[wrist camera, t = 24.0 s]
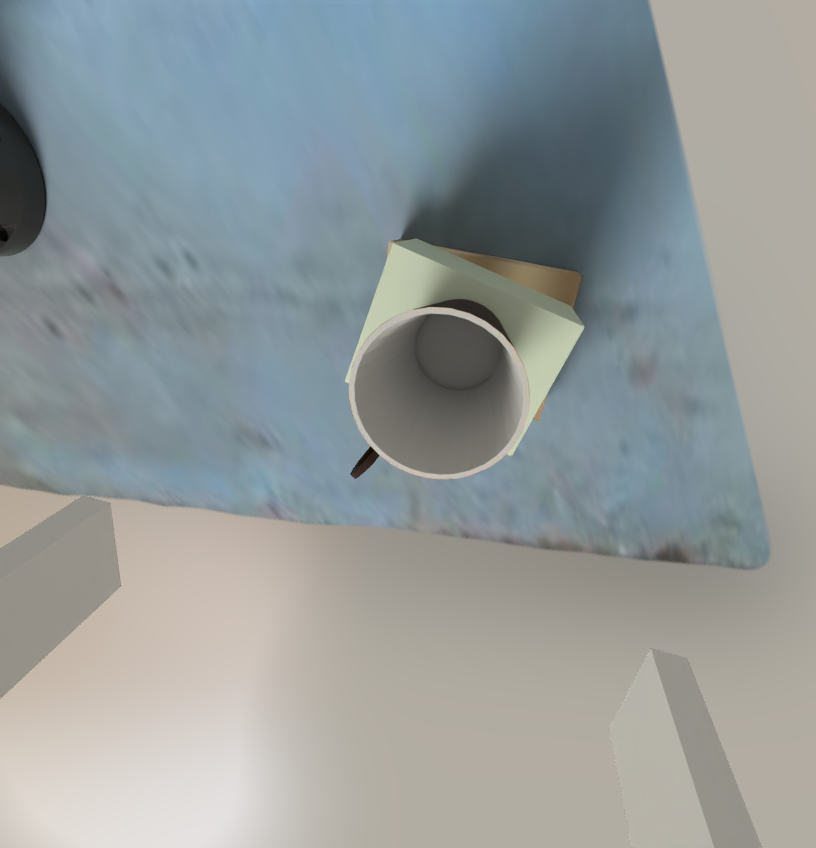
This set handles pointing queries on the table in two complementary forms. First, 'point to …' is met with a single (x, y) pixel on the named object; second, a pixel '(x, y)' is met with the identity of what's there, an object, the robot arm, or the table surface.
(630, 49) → the table surface
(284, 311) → the table surface
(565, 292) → the oak block
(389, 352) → the coffee mug
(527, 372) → the sage brick
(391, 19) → the table surface
